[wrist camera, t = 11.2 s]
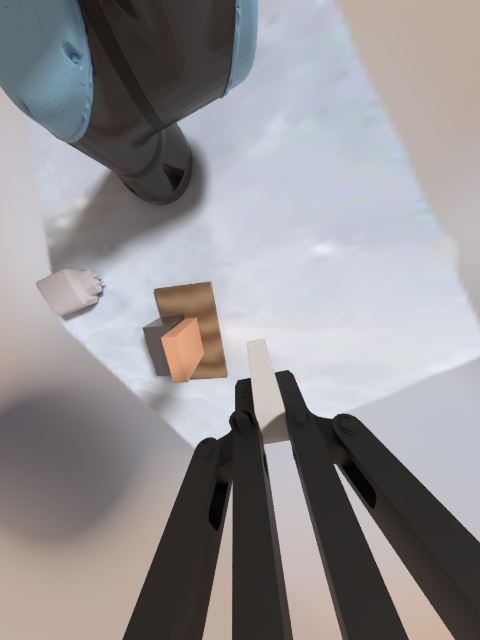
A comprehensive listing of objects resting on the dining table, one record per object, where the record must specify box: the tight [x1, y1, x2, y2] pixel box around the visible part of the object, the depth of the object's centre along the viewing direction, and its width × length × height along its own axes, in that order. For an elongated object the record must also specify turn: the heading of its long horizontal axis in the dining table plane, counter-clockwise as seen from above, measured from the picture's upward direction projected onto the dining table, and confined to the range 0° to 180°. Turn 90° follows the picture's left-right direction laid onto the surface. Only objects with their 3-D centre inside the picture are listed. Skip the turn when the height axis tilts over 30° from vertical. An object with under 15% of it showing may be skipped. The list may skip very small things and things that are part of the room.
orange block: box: [161, 317, 204, 383], centre depth 41 cm, size 10×9×12 cm
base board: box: [154, 282, 228, 380], centre depth 48 cm, size 26×14×2 cm, turn 8°
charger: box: [36, 268, 104, 316], centre depth 45 cm, size 5×9×15 cm
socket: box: [143, 315, 185, 376], centre depth 44 cm, size 12×6×8 cm, turn 8°
